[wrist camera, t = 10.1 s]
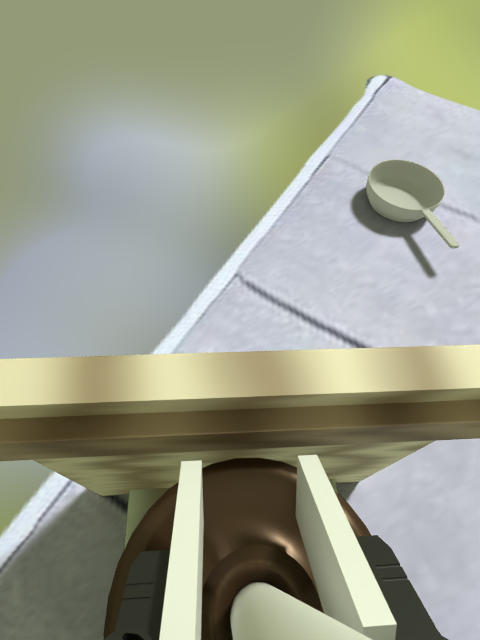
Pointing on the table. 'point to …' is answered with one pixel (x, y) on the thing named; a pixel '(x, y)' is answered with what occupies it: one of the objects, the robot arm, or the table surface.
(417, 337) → the table surface
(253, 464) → the candlestick
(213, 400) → the pale wooden blocky structure
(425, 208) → the small pan
